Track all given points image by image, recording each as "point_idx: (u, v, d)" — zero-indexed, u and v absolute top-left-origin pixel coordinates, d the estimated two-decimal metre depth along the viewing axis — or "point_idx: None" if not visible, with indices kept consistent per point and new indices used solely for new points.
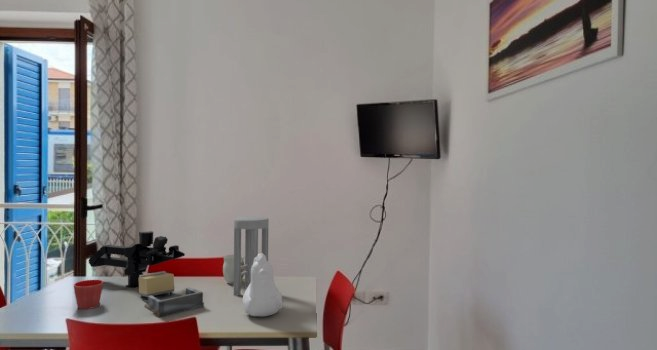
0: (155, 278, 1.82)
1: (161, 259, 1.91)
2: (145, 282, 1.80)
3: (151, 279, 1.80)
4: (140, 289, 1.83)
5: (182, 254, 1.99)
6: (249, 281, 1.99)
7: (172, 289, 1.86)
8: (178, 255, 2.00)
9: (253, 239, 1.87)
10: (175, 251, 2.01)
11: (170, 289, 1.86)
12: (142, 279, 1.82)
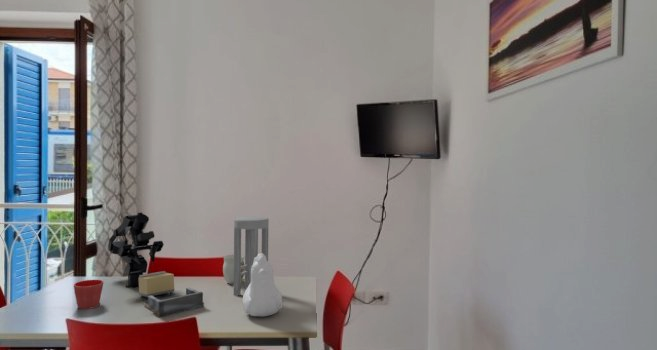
0: (155, 278, 1.82)
1: (134, 257, 1.93)
2: (145, 282, 1.80)
3: (151, 279, 1.80)
4: (140, 289, 1.83)
5: (152, 260, 1.96)
6: (249, 281, 1.99)
7: (172, 289, 1.86)
8: (151, 256, 1.98)
9: (253, 239, 1.87)
10: (151, 250, 1.98)
11: (170, 289, 1.86)
12: (142, 279, 1.82)
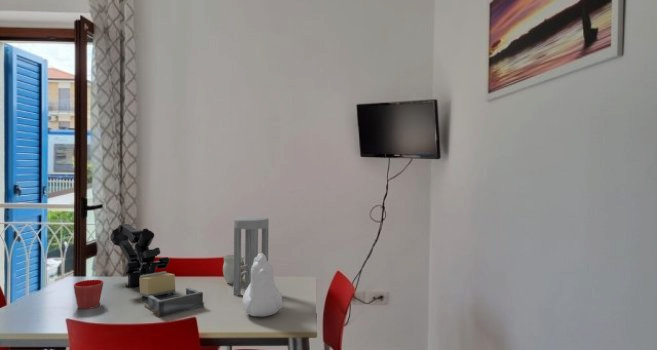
0: (156, 278, 1.81)
1: None
2: (146, 282, 1.79)
3: (152, 279, 1.80)
4: (141, 289, 1.83)
5: None
6: (249, 281, 1.99)
7: (173, 289, 1.86)
8: None
9: (253, 239, 1.87)
10: (151, 268, 1.92)
11: (171, 289, 1.85)
12: (143, 279, 1.81)
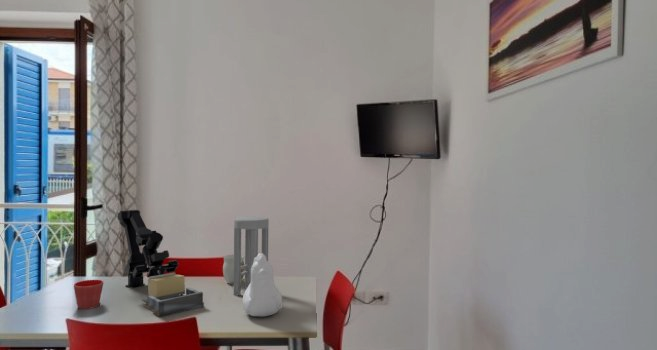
0: (165, 280, 1.74)
1: None
2: (155, 284, 1.72)
3: (161, 281, 1.73)
4: (150, 291, 1.76)
5: None
6: (249, 281, 1.99)
7: (183, 291, 1.79)
8: None
9: (253, 239, 1.87)
10: (160, 272, 1.85)
11: (181, 291, 1.78)
12: (152, 281, 1.75)
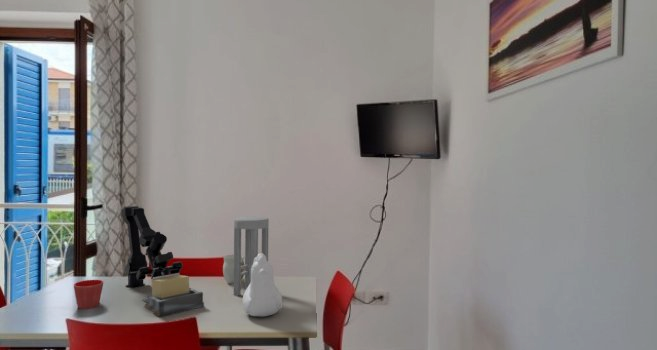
0: (169, 281, 1.71)
1: None
2: (159, 285, 1.70)
3: (165, 282, 1.70)
4: (154, 292, 1.73)
5: None
6: (249, 281, 1.99)
7: (187, 292, 1.76)
8: None
9: (253, 239, 1.87)
10: (163, 274, 1.82)
11: (185, 292, 1.75)
12: (156, 282, 1.72)
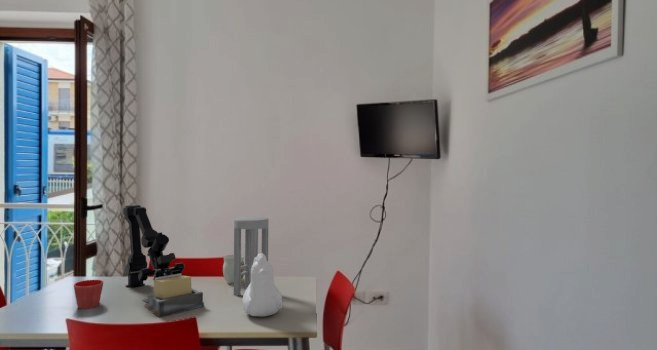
0: (172, 281, 1.70)
1: None
2: (161, 285, 1.68)
3: (167, 282, 1.69)
4: (156, 292, 1.72)
5: None
6: (249, 281, 1.99)
7: (189, 293, 1.75)
8: None
9: (253, 239, 1.87)
10: (166, 275, 1.80)
11: (187, 293, 1.74)
12: (158, 282, 1.70)
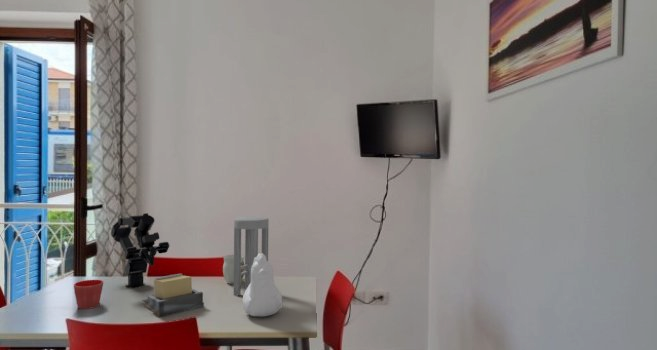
0: (172, 281, 1.70)
1: (146, 258, 1.91)
2: (161, 285, 1.68)
3: (168, 282, 1.68)
4: (156, 292, 1.71)
5: None
6: (249, 281, 1.99)
7: (190, 293, 1.74)
8: None
9: (253, 239, 1.87)
10: (150, 253, 1.92)
11: (188, 293, 1.74)
12: (158, 282, 1.70)
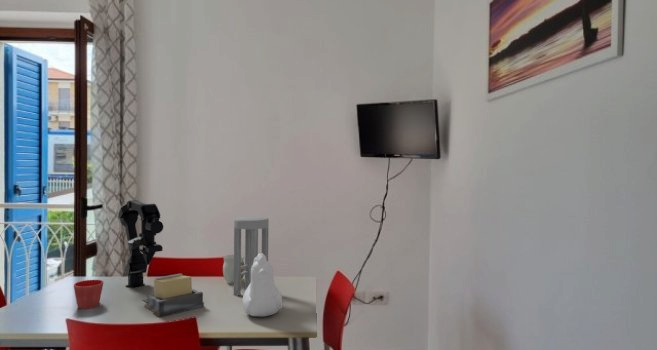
0: (172, 281, 1.70)
1: None
2: (161, 285, 1.68)
3: (168, 282, 1.68)
4: (156, 292, 1.71)
5: None
6: (249, 281, 1.99)
7: (190, 293, 1.74)
8: None
9: (253, 239, 1.87)
10: None
11: (188, 293, 1.74)
12: (158, 282, 1.70)
